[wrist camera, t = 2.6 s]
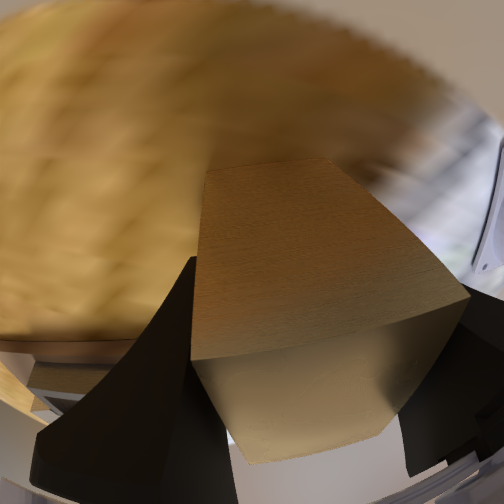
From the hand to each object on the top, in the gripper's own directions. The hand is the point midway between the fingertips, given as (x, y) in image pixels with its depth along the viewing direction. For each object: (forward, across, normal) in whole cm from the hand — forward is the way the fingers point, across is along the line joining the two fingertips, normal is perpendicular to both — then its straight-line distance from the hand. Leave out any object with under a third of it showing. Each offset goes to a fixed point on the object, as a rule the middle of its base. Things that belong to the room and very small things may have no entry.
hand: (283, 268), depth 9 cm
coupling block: (+2, 0, 0) cm, 2 cm away
